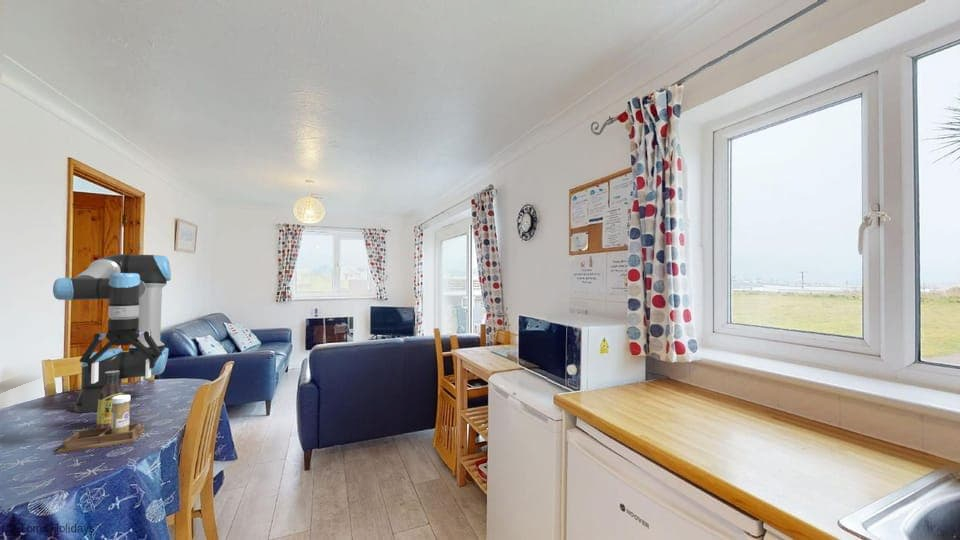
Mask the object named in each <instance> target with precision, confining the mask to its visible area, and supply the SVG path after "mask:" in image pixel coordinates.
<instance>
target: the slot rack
mask: <svg viewBox="0 0 960 540" xmlns="http://www.w3.org/2000/svg"><path fill="white" fill-rule="evenodd" d="M147 428H148V427H147V426H143V422H136V423H129V432H124V433H117V434H111V430H112V429H111V427H106V428H92V429H84V430H78V431H76V432H74V434H72V435H70V436H69V437H68V438H67V439H65V440H63V441H62V447H60V448H59V449H58V450H56V451H55V455H62V454H69V453H74V452H81V451H88V449H89V450H93V448H95V449H100V448H99V447H102V448H107V447H106V446H108V447H114V446H113V445H115V446H121V445H120V444H122V445H127V444H126V443H128V444H132V442H133V443H135V442H136V440H137V439H138V438H139V437H140V436H141V435H143V433H144V432H145V431H146V430H147Z"/></svg>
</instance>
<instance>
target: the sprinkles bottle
mask: <svg viewBox="0 0 960 540" xmlns="http://www.w3.org/2000/svg"><path fill="white" fill-rule="evenodd" d="M125 394H126V393H125ZM131 400H132V399H131V395H130V394H126V395H118V396H115V397H113V398H112V418H111V429H112V430H111V434H117V433H124V432H129V424H130V420H131V419H130V418H131V417H130V406H131V405H130V404H131Z"/></svg>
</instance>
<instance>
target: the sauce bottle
mask: <svg viewBox="0 0 960 540" xmlns="http://www.w3.org/2000/svg"><path fill="white" fill-rule="evenodd" d="M119 375H120V371H108V372H105V373H104V376H105V382H104V386H103V387H102V388H101V390H100V392H99V399H98V410H97V411H96V429H98V428H106V427H111V418H112V398H113V397H115V396H118V395H122V394H123V393H122V390H121V386H122V385H121V386H120V385H119Z"/></svg>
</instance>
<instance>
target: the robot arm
mask: <svg viewBox="0 0 960 540" xmlns="http://www.w3.org/2000/svg"><path fill="white" fill-rule="evenodd" d="M170 266H171V265H170V260H169V258H168V257H167V256H165V255H159V254H130V253H123V254H121V253H120V254H112V255H108V256H104V257H101V258H98V259H95V260H94V261H93V262H91V263H90V264H89V265H88V267H87V269H85V270H83V272H80V273H78V274H77V275H76V276H74V277H59V278H57V279H55V280H54V282H53V287H52V293H53V297H54V298H55V299H56V300H58V301H61V300H62V301H75V300H77V301H82V300H83V301H84V300H85V301H86V300H108V307H107V308H108V310H107V311H108V313H107V314H108V318H109V319H108V320H107V332H106V333H105V332H104V333H103V332H97V333H95V334H94V336H93V340H92V342H91V343H90V344H89V346H88V347H87V349H86V350H85V352H84V353H83V355H82V356H81V357H80V359H79V362H80V363H81V366H80V367H81V382H80V383H81V384H80V386H81V388H80V392H79V394H78V397H77V399H76V401H75V404H74V407H73V411H74V412H76V413H93V412H97V410H98V399H99V392H100V390H101V388H102V387H103V386H104V382H105V376H104V373H105V372H108V371H120V375H119V385H120V386H121V390H122V393H123V394H122V395H126V392H125V390H124V388H123V386H122V380H125V379H134V378H142V377H145V380H146V379H150V378H151V377H152V376H158V375H161V374H162V373H163V372H164V371H165V369H166V365H167V362H168V356H169V348H168V347H165V343H163V342H162V341H161V330H162V329H161V327H162V326H161V324H162V302H163V301H162V299H163V297H162V296H163V288H164V287H165V286H167V284H168V283H167V282H169V281H171V280H172V273H171V272H172V271H171V267H170ZM105 338H106V339H107V340H108V341H107V343H106V344H105V345H103V346H102V348H101V349H99V350H98V351H95V350H96V349H97V347H99V344H100V343H101V341H102V340H104V339H105ZM113 346H116V348H115V347H114V348H112V347H113ZM119 346H129V347H128V350H127V351H123V350H124V349H123V348H121V347H119ZM117 347H118V348H117Z"/></svg>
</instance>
